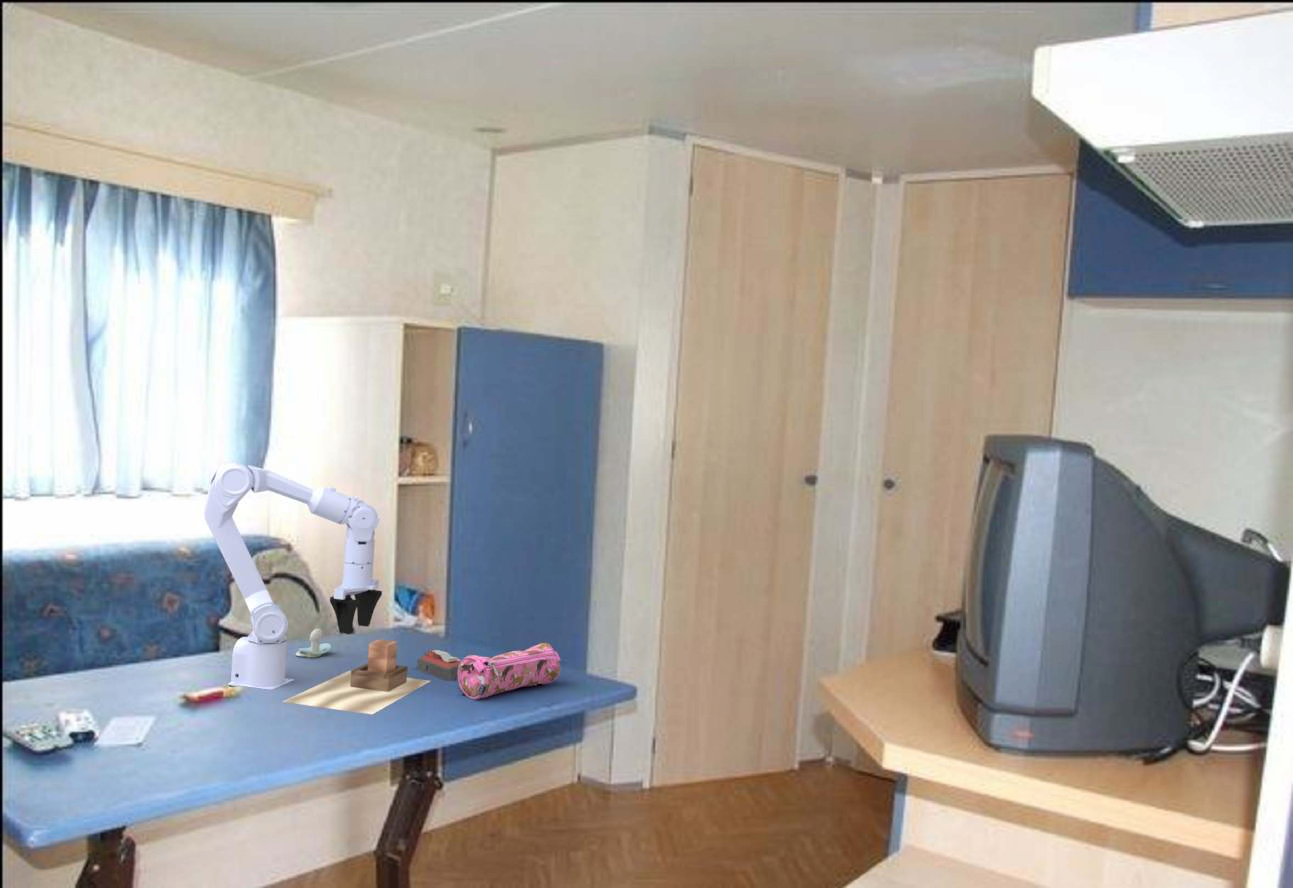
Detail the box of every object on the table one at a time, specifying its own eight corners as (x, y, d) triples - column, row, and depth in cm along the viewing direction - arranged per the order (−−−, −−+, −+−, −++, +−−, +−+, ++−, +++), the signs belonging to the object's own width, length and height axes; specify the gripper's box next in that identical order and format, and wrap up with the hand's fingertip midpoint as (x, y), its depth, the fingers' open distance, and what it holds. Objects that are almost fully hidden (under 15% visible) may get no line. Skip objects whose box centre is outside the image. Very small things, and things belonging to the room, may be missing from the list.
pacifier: (288, 656, 222) (307, 660, 219) (289, 627, 222) (308, 631, 219) (315, 651, 228) (334, 655, 225) (316, 623, 228) (335, 626, 225)
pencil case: (482, 705, 195) (485, 659, 195) (452, 694, 201) (455, 650, 201) (563, 688, 211) (566, 646, 211) (533, 678, 217) (536, 637, 217)
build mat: (282, 704, 187) (283, 684, 186) (350, 672, 211) (351, 654, 211) (372, 717, 183) (373, 696, 183) (431, 683, 207) (432, 665, 207)
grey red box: (484, 677, 216) (428, 658, 229) (485, 657, 215) (429, 638, 229) (450, 684, 209) (394, 663, 223) (451, 662, 209) (396, 643, 222)
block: (367, 673, 200) (369, 643, 200) (377, 669, 204) (379, 639, 204) (385, 676, 199) (387, 645, 199) (395, 671, 203) (397, 641, 203)
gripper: (359, 568, 197) (354, 638, 197) (393, 559, 211) (389, 624, 211) (325, 565, 198) (321, 634, 199) (362, 556, 212) (358, 621, 213)
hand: (354, 629), depth 205 cm, fingers open, 7 cm apart
